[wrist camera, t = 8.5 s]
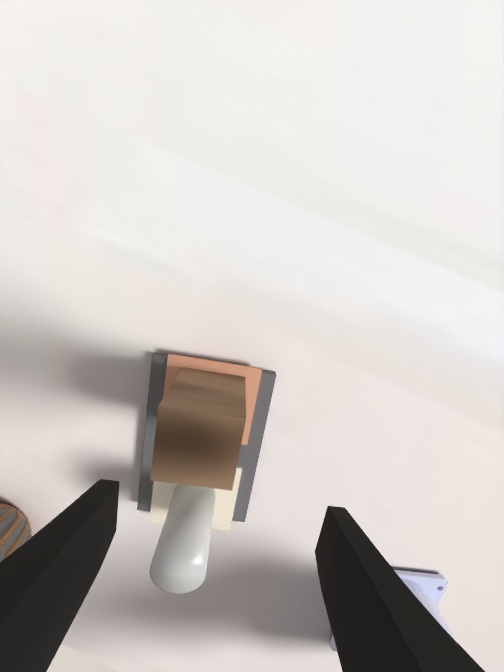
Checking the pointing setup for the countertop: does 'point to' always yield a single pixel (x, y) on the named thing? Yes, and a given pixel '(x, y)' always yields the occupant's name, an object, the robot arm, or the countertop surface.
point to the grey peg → (184, 540)
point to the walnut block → (200, 430)
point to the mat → (257, 407)
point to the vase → (12, 529)
